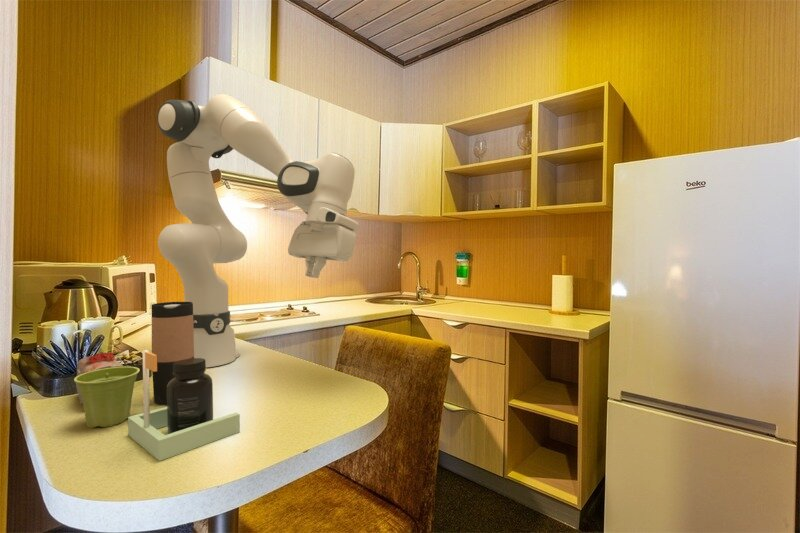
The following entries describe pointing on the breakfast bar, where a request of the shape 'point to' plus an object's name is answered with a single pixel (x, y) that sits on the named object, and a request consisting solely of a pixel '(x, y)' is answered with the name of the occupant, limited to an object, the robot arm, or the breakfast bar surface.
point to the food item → (96, 365)
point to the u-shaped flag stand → (149, 421)
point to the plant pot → (107, 394)
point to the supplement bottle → (189, 395)
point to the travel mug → (170, 342)
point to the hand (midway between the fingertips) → (311, 277)
